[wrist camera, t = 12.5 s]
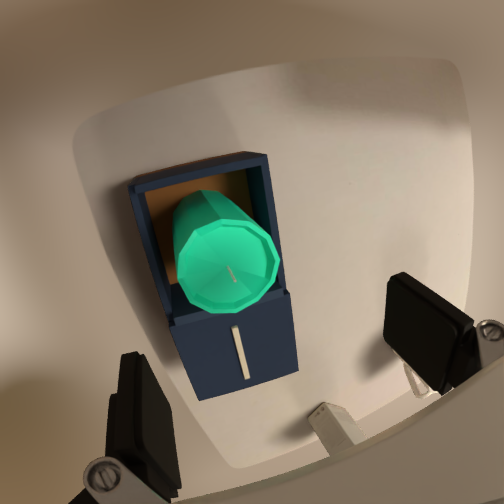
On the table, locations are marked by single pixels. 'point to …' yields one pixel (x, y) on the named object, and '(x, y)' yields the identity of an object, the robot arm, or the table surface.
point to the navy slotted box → (196, 319)
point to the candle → (221, 253)
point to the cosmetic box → (335, 428)
